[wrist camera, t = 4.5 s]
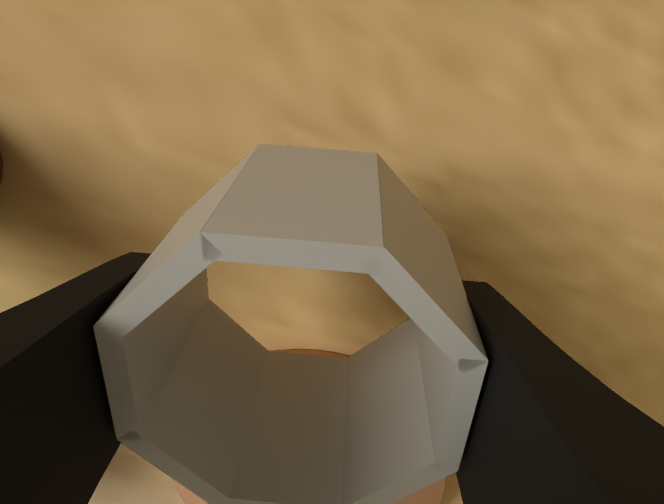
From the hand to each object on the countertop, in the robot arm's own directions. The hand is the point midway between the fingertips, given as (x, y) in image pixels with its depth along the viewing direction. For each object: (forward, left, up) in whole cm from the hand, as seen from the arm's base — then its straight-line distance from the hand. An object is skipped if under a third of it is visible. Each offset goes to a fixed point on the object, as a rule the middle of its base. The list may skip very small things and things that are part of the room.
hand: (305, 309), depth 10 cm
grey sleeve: (0, 0, -1) cm, 1 cm away
